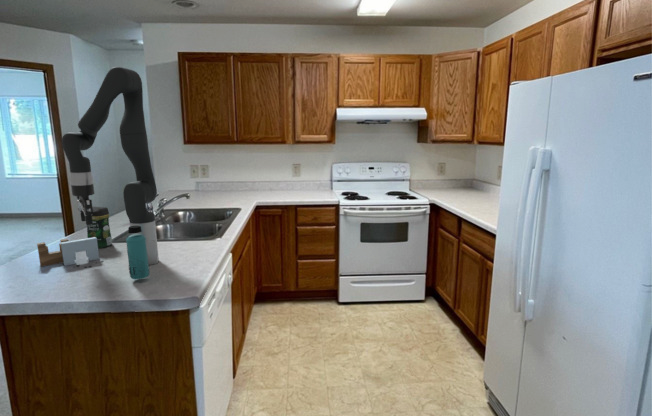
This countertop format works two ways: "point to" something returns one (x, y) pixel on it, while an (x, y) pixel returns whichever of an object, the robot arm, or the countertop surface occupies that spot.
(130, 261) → the beverage bottle
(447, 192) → the countertop surface
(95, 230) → the coffee jar
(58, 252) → the notched wooden block
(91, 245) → the pale grey upright slab
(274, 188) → the countertop surface
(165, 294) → the countertop surface
